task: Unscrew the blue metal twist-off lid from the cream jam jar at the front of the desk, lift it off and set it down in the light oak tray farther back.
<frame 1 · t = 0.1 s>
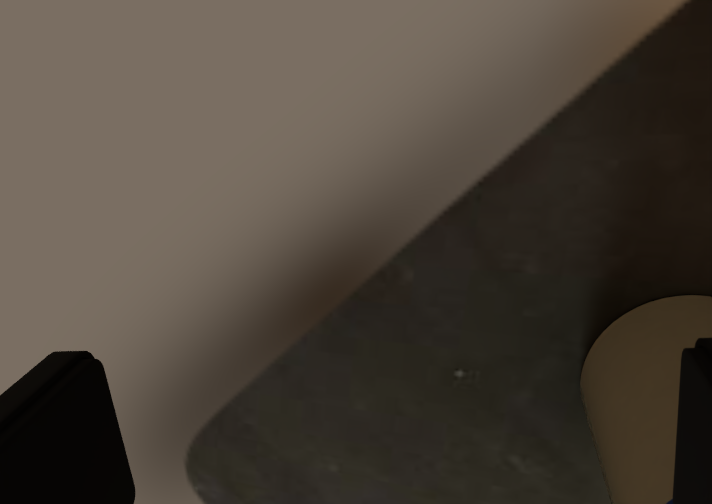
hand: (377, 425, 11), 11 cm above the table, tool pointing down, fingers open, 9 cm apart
jar: (681, 384, 21), on the table
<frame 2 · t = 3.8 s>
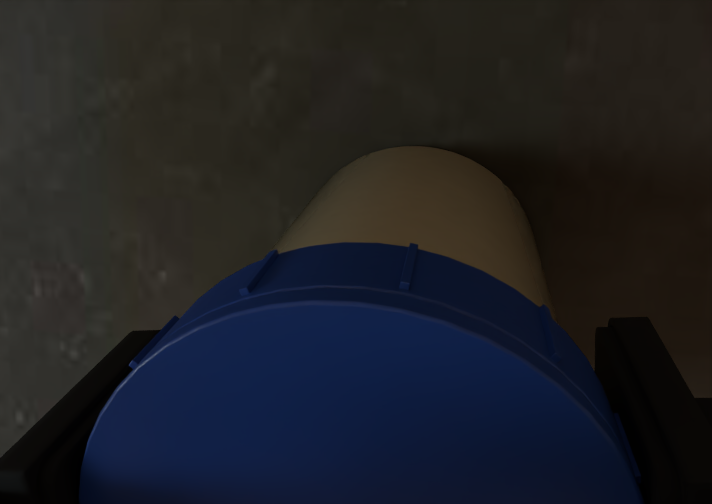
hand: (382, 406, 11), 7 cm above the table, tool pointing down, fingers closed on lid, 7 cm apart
jar: (413, 263, 17), on the table
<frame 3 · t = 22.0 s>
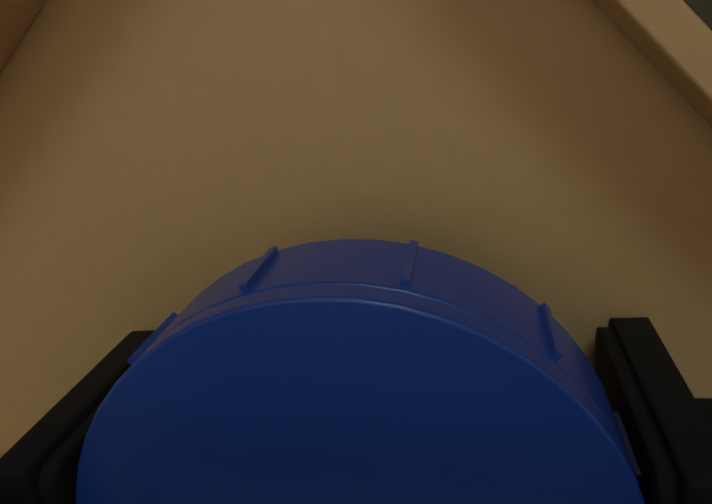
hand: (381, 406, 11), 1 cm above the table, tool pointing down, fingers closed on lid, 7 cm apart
tray: (384, 382, 12), on the table
when the fingers open (2 cm above the table, at t = 33.2 s): lid drops 3 cm, resting on tray.
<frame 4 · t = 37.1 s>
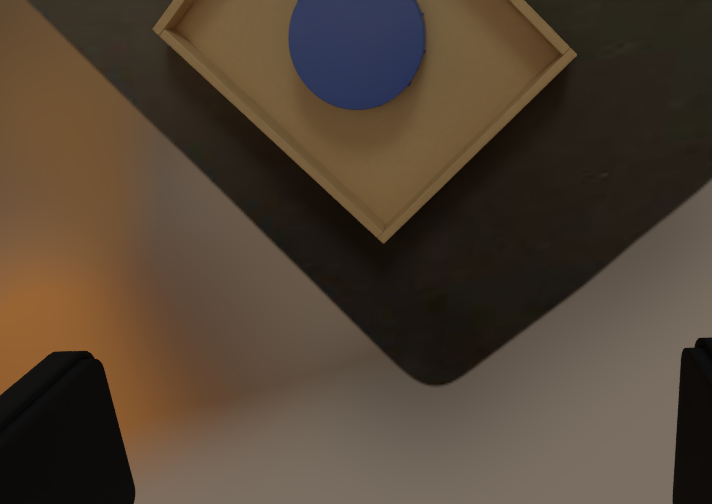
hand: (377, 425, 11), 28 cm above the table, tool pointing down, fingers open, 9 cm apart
lid: (356, 40, 34), point 2 cm above the table, off its thread, touching tray
tray: (361, 39, 36), on the table
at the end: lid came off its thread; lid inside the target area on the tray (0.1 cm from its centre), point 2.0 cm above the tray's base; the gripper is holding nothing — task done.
